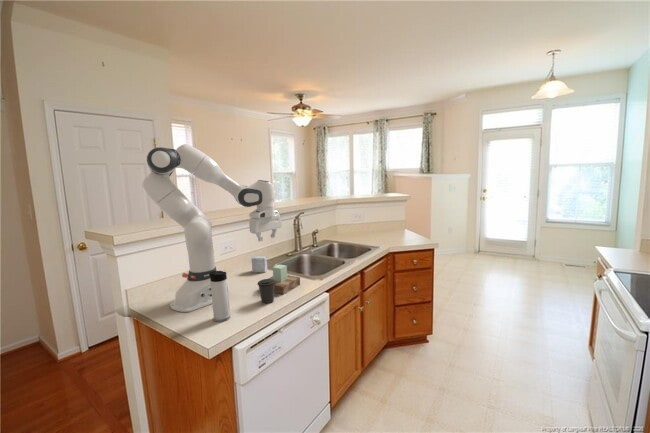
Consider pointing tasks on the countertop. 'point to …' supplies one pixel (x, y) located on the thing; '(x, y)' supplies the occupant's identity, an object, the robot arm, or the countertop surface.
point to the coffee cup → (266, 290)
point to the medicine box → (259, 264)
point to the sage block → (280, 273)
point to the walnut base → (286, 284)
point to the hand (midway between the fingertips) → (266, 239)
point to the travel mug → (220, 296)
